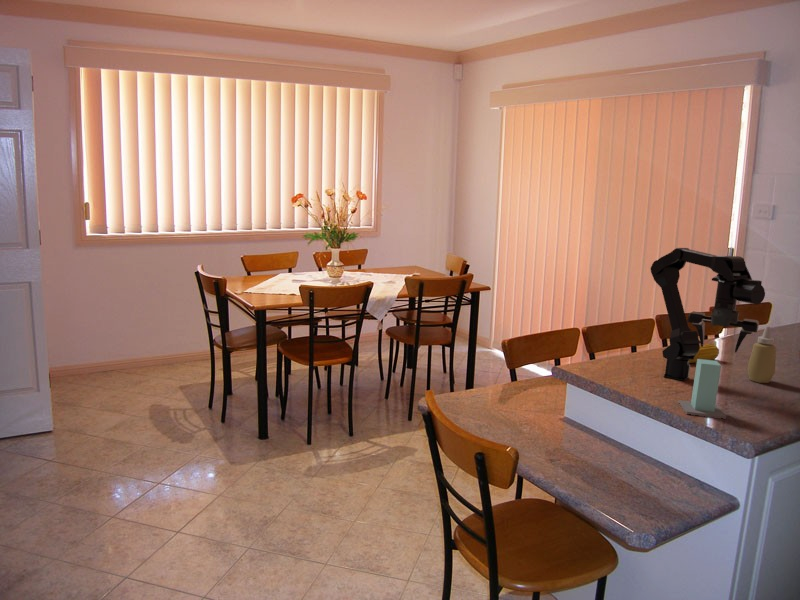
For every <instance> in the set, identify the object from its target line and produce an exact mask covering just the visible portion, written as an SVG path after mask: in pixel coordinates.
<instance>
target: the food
mask: <svg viewBox="0 0 800 600" xmlns="http://www.w3.org/2000/svg"><path fill="white" fill-rule="evenodd" d="M719 354H720V349H719V348H718V347H717V346H716V345H714V344H710V343H707V344H704V345H703V347H701V345H700V349H699V351H698V353H697V354H696V355H695V357H694V359H693V360H689V364H697V359H703V360H716V359H717V358H718V357H719Z"/></svg>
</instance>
